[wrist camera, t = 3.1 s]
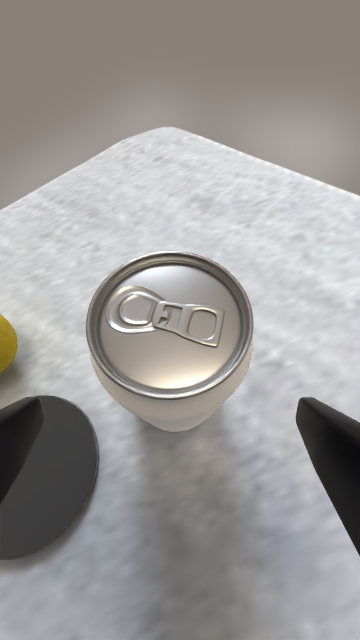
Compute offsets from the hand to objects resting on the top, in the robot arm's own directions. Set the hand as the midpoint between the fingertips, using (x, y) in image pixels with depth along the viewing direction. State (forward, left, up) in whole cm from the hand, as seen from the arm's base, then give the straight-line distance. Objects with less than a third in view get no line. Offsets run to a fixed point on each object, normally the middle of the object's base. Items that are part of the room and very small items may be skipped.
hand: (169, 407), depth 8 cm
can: (+2, +2, -10) cm, 11 cm away
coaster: (-8, +6, -10) cm, 14 cm away
